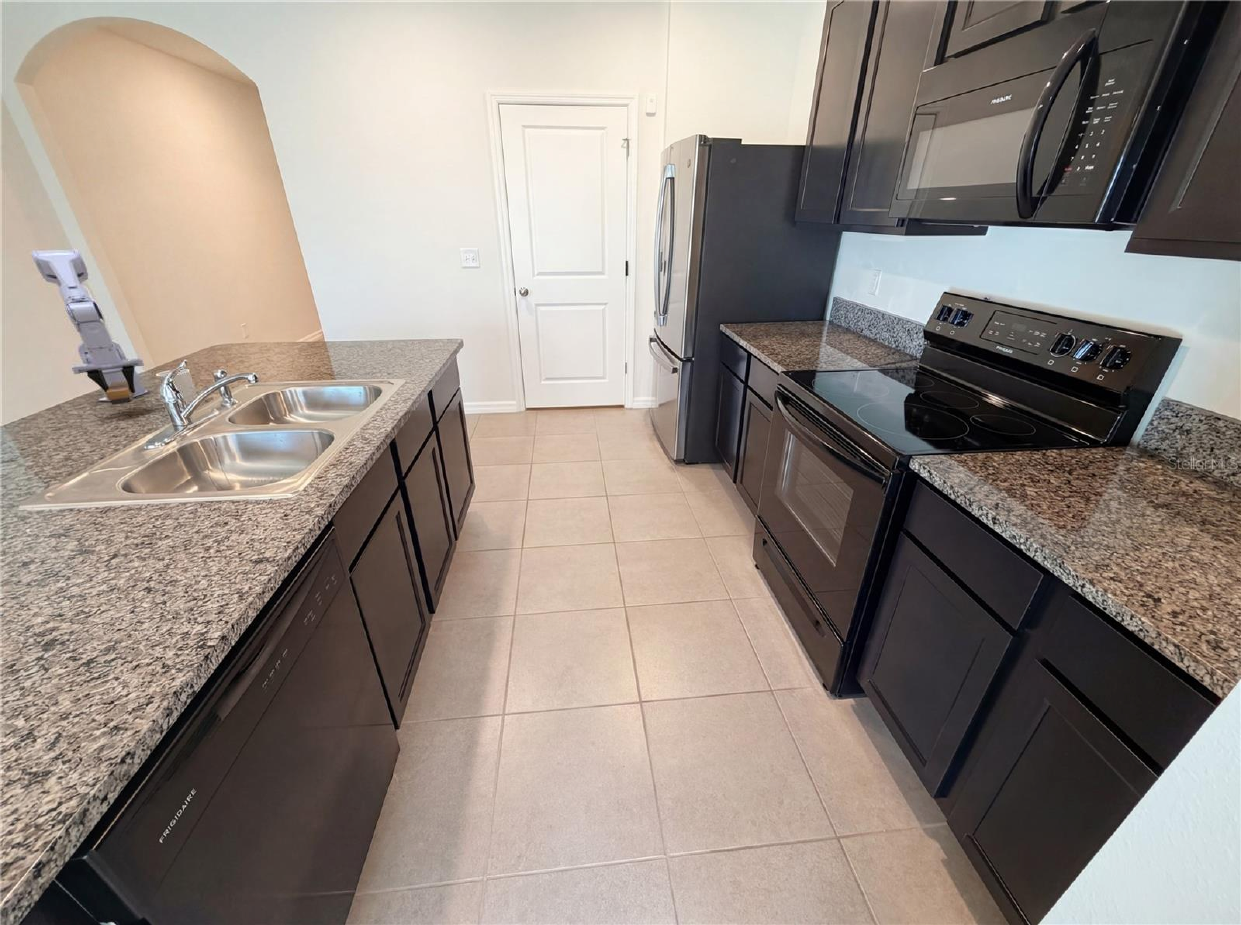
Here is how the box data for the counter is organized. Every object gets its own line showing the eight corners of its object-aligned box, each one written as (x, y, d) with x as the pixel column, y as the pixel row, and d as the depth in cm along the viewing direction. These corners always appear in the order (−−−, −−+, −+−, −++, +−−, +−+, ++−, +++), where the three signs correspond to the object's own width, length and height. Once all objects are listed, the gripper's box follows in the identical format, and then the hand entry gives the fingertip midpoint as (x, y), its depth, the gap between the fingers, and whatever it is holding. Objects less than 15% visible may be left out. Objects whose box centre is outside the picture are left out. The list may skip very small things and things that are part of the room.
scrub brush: (116, 395, 149) (110, 383, 148) (136, 392, 152) (131, 380, 150) (111, 405, 142) (105, 392, 140) (132, 401, 144) (127, 389, 142)
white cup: (162, 406, 155) (149, 375, 150) (189, 398, 162) (177, 368, 157) (181, 409, 153) (168, 377, 148) (207, 400, 159) (195, 370, 155)
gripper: (61, 353, 133) (85, 402, 139) (133, 345, 141) (153, 392, 147) (66, 348, 138) (89, 395, 144) (135, 341, 146) (155, 386, 152)
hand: (121, 393), depth 146 cm, fingers closed on scrub brush, 4 cm apart
